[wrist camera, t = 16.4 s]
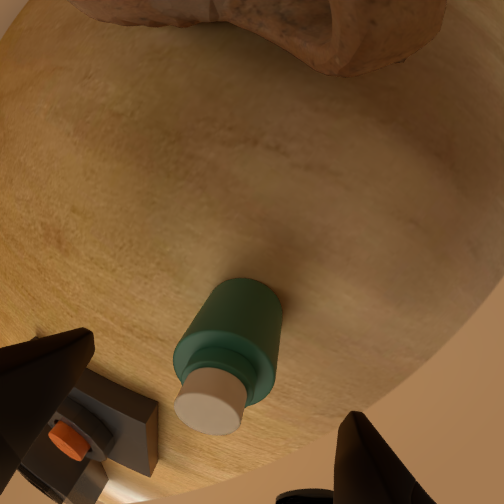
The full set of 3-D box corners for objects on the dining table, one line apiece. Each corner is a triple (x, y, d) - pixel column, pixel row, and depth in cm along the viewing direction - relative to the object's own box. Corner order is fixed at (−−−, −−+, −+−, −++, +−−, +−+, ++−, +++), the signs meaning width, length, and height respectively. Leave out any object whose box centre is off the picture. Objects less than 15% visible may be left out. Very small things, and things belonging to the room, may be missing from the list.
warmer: (96, 451, 22) (62, 502, 13) (109, 479, 25) (84, 521, 16) (25, 402, 22) (-11, 441, 14) (45, 439, 26) (18, 473, 17)
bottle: (293, 292, 12) (289, 399, 6) (267, 352, 14) (247, 459, 7) (218, 266, 13) (153, 350, 6) (200, 328, 14) (146, 423, 8)
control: (158, 402, 16) (134, 443, 12) (158, 461, 19) (143, 491, 15) (35, 335, 17) (5, 359, 13) (57, 407, 20) (37, 429, 16)
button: (86, 434, 14) (76, 449, 12) (94, 452, 15) (85, 466, 13) (54, 413, 14) (43, 426, 13) (64, 433, 15) (54, 446, 14)
